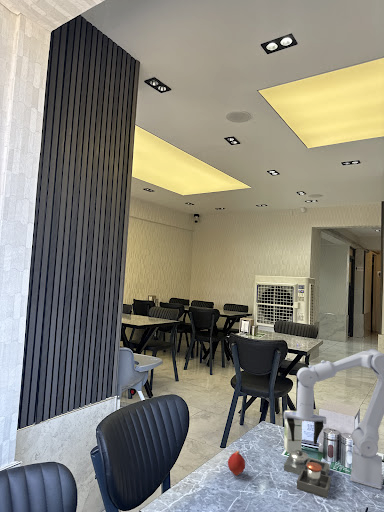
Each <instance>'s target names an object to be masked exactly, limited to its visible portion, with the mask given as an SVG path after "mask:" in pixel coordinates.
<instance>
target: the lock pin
mask: <svg viewBox="0 0 384 512" xmlns="http://www.w3.org/2000/svg"><path fill="white" fill-rule="evenodd" d="M307 468H308V474H307V483H309V484H312V485H315V486H319V487H320V473H321V470H322V466H321V465H320V464H318V463H315V462H308V463H307Z"/></svg>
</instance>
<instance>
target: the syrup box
mask: <svg viewBox="0 0 384 512" xmlns="http://www.w3.org/2000/svg"><path fill="white" fill-rule="evenodd" d="M284 412H297V410H284ZM294 423H295V428H294V441H292V439H291V431H290V427H289V425H288V422H287V419H284V426H283V427H284V428H283V429H284V430H283V431H284V432H283V434H284V435H283V447H284V449H285V452H286V453H288V454H290V453H291V452H292V451H297V450H300V451H302V442H303V441H302V437H303V435H302V434H303V432H302V431H303V429H302V426H303V425H302V423H303V421H302V420H294Z"/></svg>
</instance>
